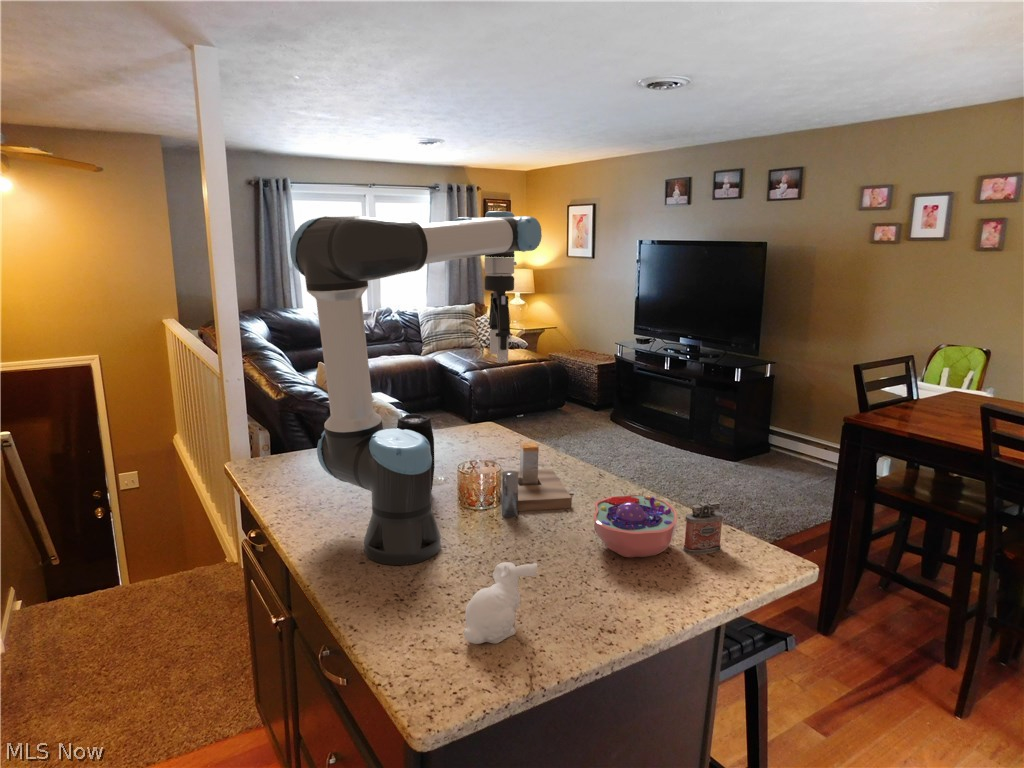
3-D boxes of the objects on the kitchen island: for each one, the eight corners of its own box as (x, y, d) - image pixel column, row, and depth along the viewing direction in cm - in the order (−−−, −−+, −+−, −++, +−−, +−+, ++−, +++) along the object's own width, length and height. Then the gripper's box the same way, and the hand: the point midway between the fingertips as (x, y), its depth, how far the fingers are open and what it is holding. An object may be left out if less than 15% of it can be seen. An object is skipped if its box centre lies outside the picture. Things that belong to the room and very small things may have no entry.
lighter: (688, 555, 124) (692, 508, 122) (679, 548, 127) (683, 502, 125) (724, 551, 126) (728, 504, 124) (714, 543, 129) (718, 498, 127)
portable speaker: (441, 495, 153) (440, 418, 149) (408, 504, 147) (407, 424, 143) (421, 485, 159) (420, 411, 155) (389, 493, 153) (387, 417, 149)
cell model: (687, 540, 131) (691, 490, 128) (658, 582, 114) (662, 525, 111) (612, 522, 139) (614, 474, 137) (573, 558, 122) (576, 504, 120)
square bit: (537, 493, 155) (538, 447, 153) (522, 494, 155) (523, 447, 152) (534, 487, 159) (535, 442, 156) (519, 488, 158) (520, 443, 156)
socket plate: (571, 507, 146) (571, 497, 146) (504, 511, 144) (504, 501, 143) (551, 478, 166) (552, 469, 165) (492, 480, 163) (492, 471, 163)
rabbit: (497, 606, 105) (498, 540, 103) (543, 626, 100) (546, 557, 97) (449, 641, 96) (449, 569, 93) (498, 665, 90) (499, 590, 88)
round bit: (518, 517, 141) (519, 475, 139) (503, 518, 140) (503, 476, 138) (516, 511, 144) (516, 470, 142) (500, 512, 143) (501, 470, 141)
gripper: (523, 277, 146) (521, 366, 150) (506, 273, 170) (505, 350, 174) (491, 276, 145) (490, 366, 149) (479, 273, 169) (478, 350, 173)
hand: (498, 358), depth 162 cm, fingers open, 13 cm apart
